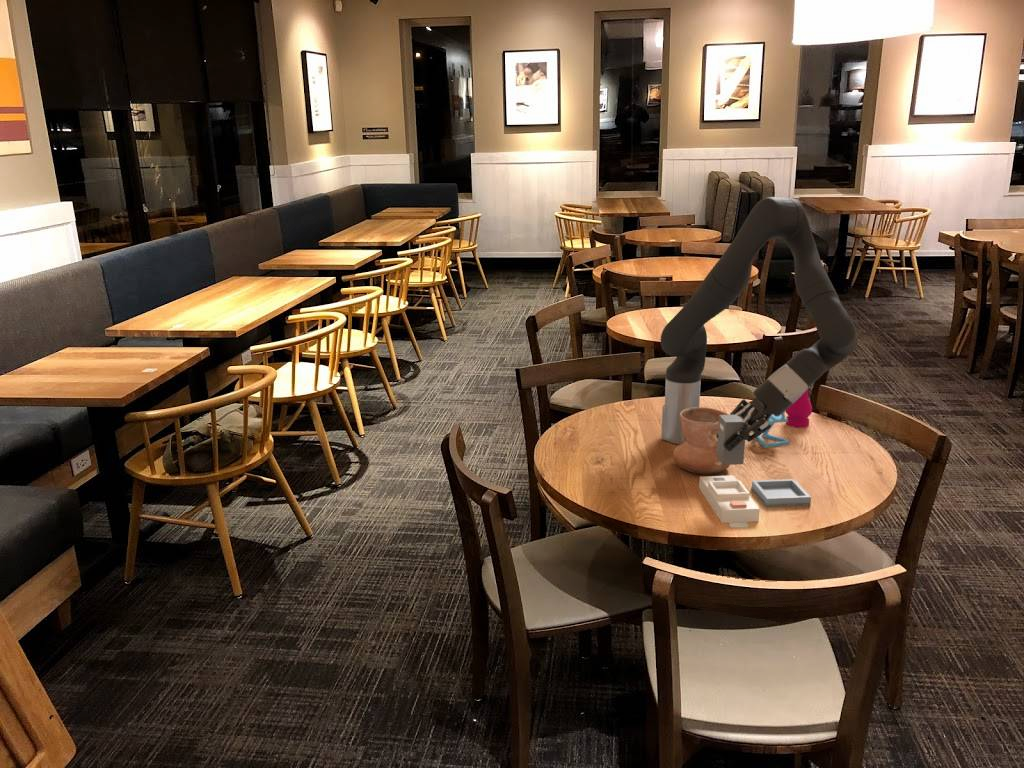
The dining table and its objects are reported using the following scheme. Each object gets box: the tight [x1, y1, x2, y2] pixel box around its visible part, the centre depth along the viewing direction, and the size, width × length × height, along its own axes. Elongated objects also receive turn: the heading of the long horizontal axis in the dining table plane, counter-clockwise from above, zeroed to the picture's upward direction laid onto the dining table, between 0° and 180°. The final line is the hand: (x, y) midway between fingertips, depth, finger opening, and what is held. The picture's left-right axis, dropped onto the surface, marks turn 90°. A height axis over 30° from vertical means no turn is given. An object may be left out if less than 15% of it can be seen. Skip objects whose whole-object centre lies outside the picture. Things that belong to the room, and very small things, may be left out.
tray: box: [751, 478, 812, 508], centre depth 187 cm, size 10×10×2 cm
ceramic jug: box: [672, 406, 731, 475], centre depth 203 cm, size 18×14×14 cm
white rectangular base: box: [698, 474, 761, 524], centre depth 183 cm, size 18×8×4 cm, turn 3°
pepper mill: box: [785, 388, 813, 429], centre depth 230 cm, size 7×7×20 cm
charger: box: [717, 414, 746, 466], centre depth 180 cm, size 5×5×10 cm
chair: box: [755, 410, 790, 449], centre depth 219 cm, size 8×8×12 cm
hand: (722, 443), depth 180 cm, fingers closed on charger, 4 cm apart
